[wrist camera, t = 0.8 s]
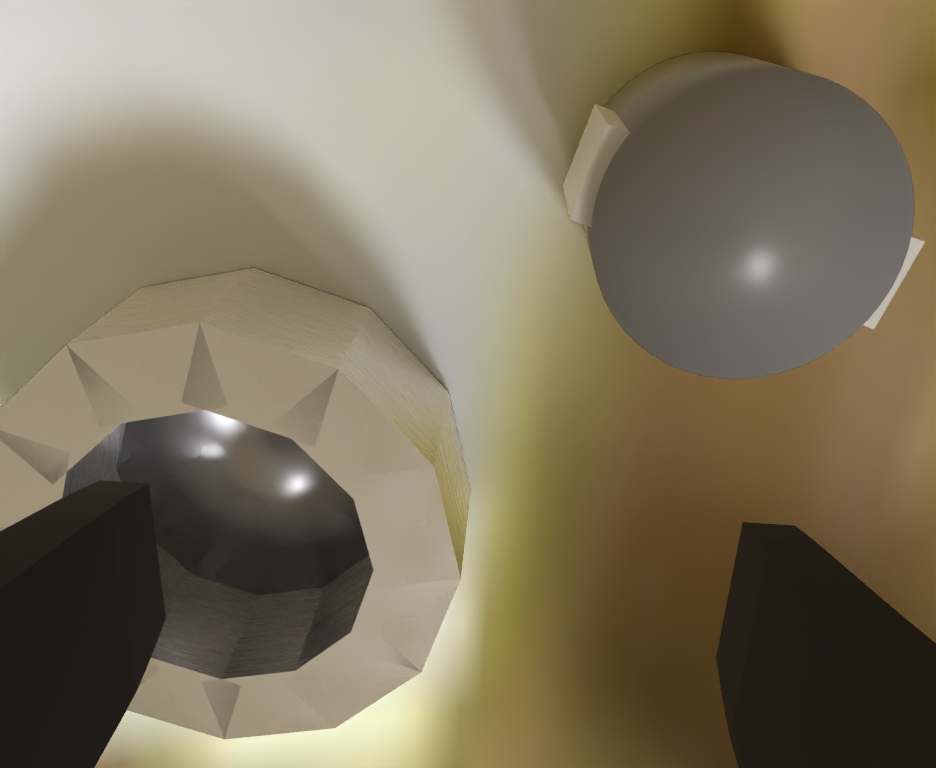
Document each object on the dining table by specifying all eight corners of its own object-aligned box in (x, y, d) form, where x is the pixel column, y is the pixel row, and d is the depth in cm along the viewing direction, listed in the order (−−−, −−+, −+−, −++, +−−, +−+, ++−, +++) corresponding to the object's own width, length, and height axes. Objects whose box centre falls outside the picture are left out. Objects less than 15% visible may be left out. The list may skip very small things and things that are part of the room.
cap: (882, 107, 17) (993, 143, 13) (765, 330, 19) (829, 421, 15) (623, 8, 17) (654, 13, 13) (531, 247, 19) (532, 318, 15)
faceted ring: (523, 360, 20) (522, 431, 17) (394, 678, 24) (374, 784, 21) (91, 212, 19) (4, 255, 16) (33, 566, 23) (-46, 658, 20)
